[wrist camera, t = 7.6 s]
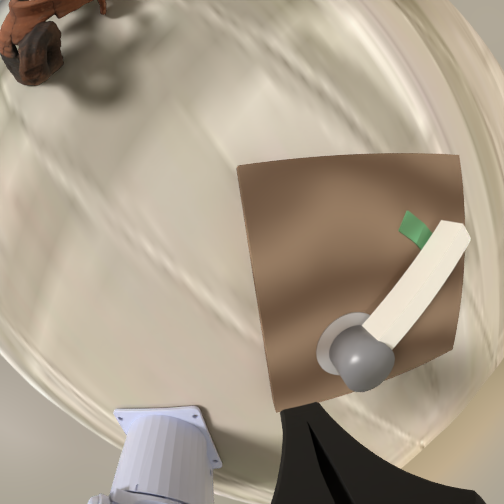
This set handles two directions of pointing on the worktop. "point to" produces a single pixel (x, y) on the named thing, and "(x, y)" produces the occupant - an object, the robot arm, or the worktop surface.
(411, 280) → the peg lever
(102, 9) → the pottery mug
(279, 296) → the brown flat square board
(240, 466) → the worktop surface
